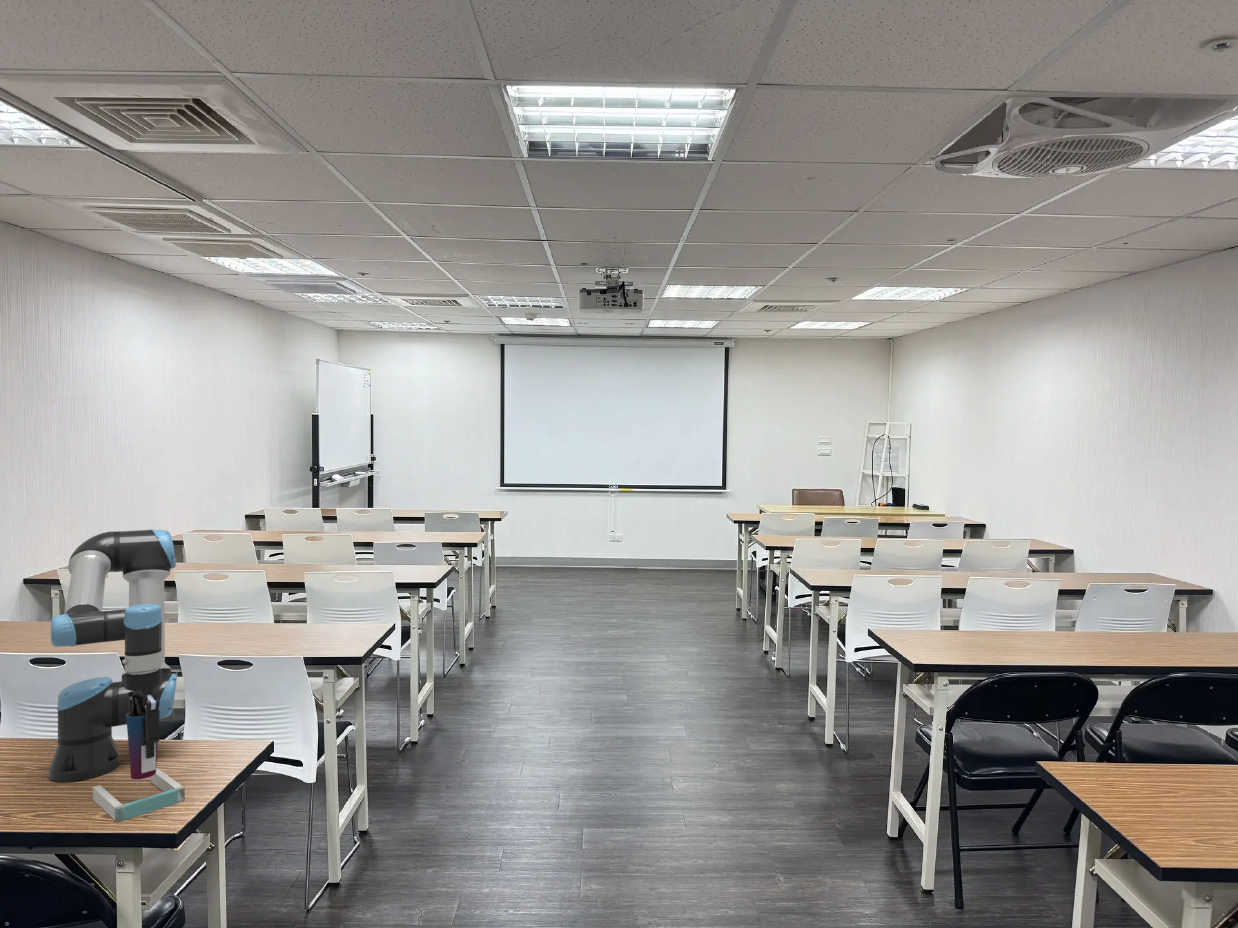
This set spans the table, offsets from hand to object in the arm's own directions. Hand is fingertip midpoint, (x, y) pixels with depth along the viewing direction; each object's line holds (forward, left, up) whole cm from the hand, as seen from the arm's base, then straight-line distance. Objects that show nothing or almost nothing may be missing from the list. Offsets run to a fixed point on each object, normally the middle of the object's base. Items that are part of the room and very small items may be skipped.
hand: (143, 766), depth 174 cm
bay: (-4, 0, -9) cm, 10 cm away
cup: (0, 0, -2) cm, 2 cm away
